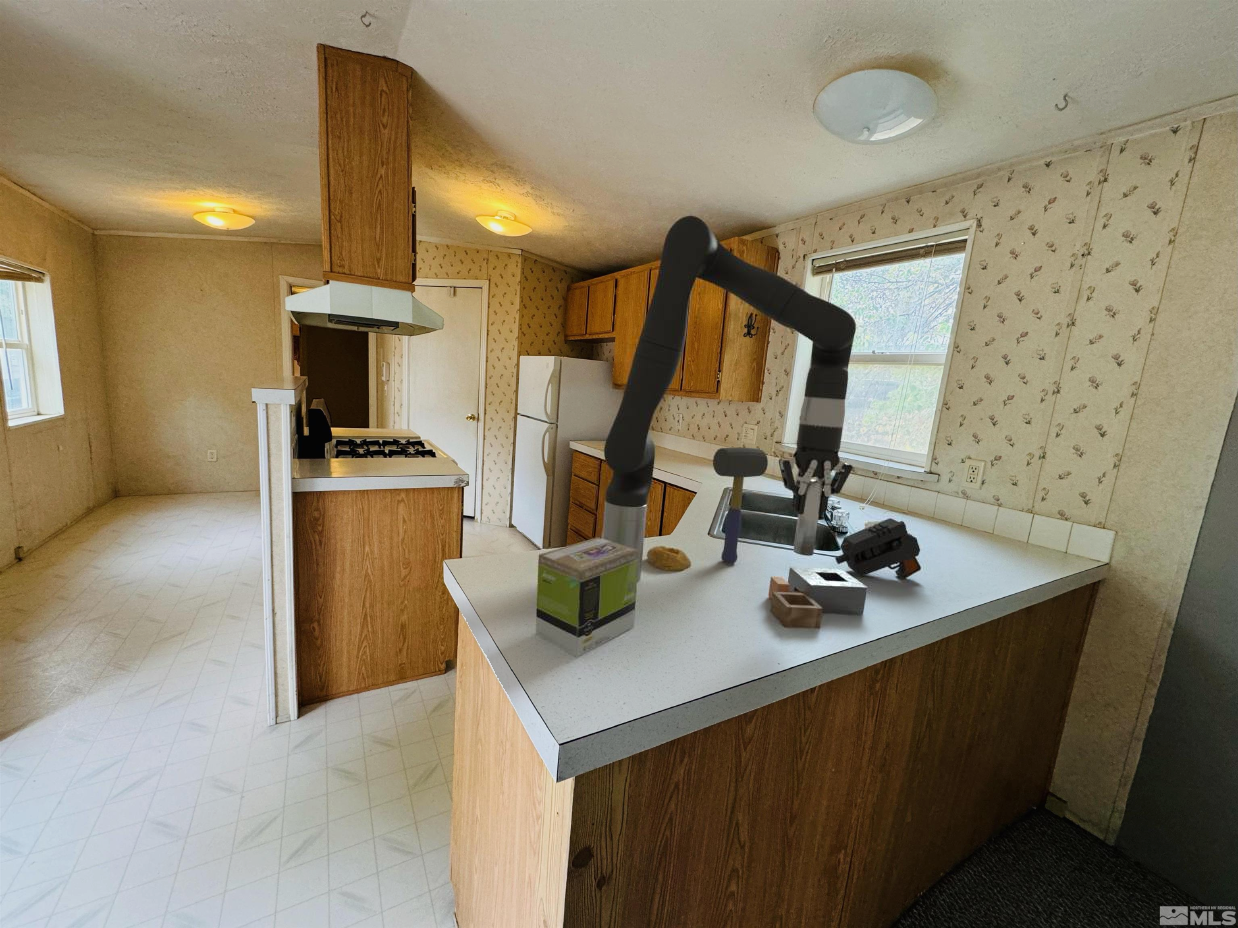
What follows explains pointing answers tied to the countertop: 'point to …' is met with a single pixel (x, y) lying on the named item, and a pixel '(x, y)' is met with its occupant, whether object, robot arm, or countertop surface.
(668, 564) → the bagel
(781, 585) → the drift key
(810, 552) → the tall gray stick
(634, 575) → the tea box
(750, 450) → the rubber mallet
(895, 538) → the black toy pistol
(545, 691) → the countertop surface
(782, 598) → the open wooden box
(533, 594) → the countertop surface
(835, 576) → the socket
